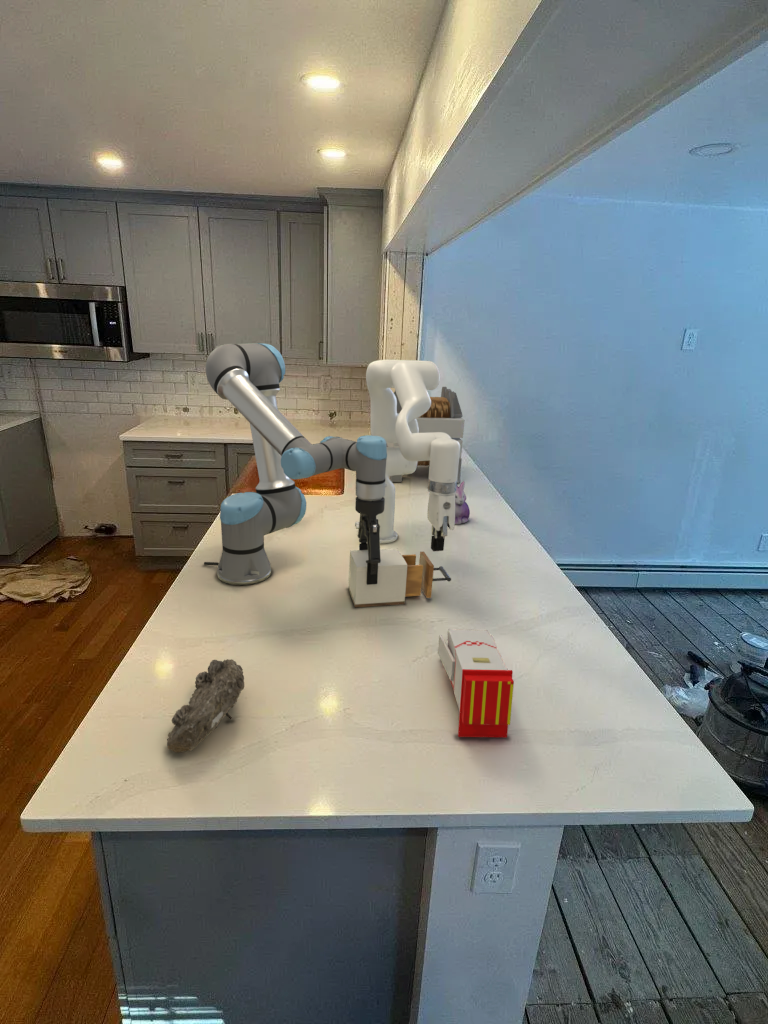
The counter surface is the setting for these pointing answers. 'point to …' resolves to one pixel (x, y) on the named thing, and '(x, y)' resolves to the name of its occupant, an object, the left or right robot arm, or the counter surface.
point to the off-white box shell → (388, 581)
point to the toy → (478, 682)
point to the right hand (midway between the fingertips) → (437, 549)
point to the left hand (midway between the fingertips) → (367, 574)
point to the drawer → (421, 575)
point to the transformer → (438, 423)
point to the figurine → (461, 505)
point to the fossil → (206, 705)
